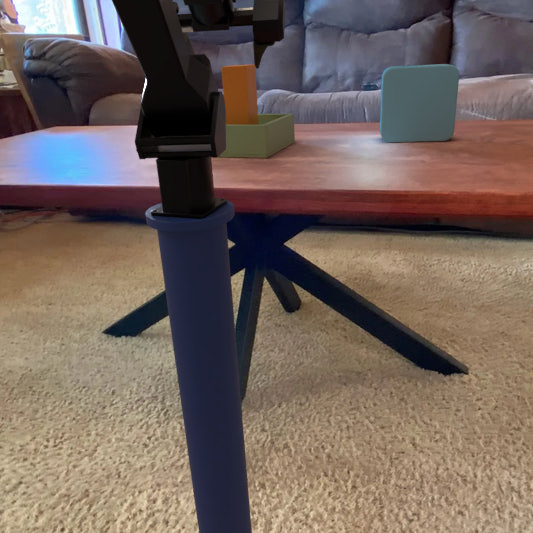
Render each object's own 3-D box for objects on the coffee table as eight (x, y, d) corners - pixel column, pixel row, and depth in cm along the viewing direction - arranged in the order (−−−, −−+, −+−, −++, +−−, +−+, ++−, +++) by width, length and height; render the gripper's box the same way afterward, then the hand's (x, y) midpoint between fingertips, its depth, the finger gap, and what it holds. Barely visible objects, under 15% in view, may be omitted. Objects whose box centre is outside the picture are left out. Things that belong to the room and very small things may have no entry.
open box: (267, 158, 80) (265, 125, 78) (184, 156, 85) (181, 125, 83) (294, 142, 92) (294, 113, 90) (221, 141, 97) (219, 114, 95)
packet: (259, 142, 91) (255, 64, 85) (251, 150, 84) (245, 65, 79) (237, 143, 91) (232, 65, 86) (227, 150, 85) (221, 66, 80)
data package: (449, 136, 90) (455, 63, 85) (453, 141, 85) (460, 64, 81) (379, 138, 92) (381, 66, 87) (380, 142, 87) (383, 67, 83)
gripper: (281, -79, 64) (291, 23, 78) (138, -66, 66) (173, 30, 81) (277, -15, 59) (288, 81, 74) (125, -4, 62) (164, 86, 76)
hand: (227, 67), depth 76 cm, fingers open, 9 cm apart
